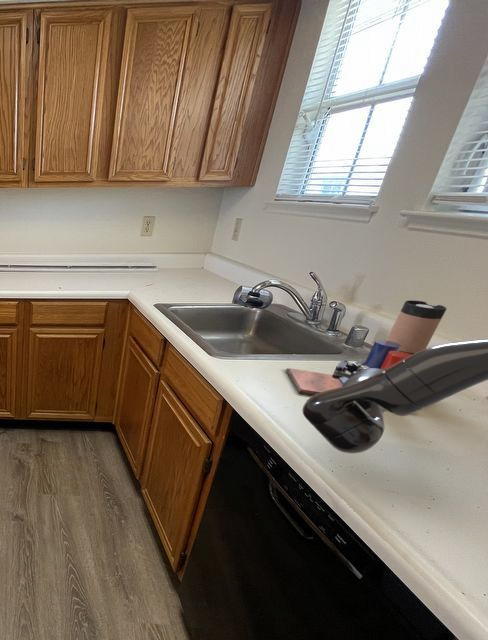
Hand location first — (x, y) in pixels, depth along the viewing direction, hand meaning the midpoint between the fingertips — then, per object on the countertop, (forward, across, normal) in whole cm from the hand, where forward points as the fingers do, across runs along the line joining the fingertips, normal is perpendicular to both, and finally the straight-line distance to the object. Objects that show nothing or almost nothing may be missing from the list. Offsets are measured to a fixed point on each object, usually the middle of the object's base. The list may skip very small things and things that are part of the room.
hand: (388, 371), depth 87 cm
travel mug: (+31, +2, +11) cm, 33 cm away
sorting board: (+12, +7, +11) cm, 18 cm away
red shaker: (+12, 0, +10) cm, 16 cm away
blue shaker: (+19, +4, +10) cm, 22 cm away
